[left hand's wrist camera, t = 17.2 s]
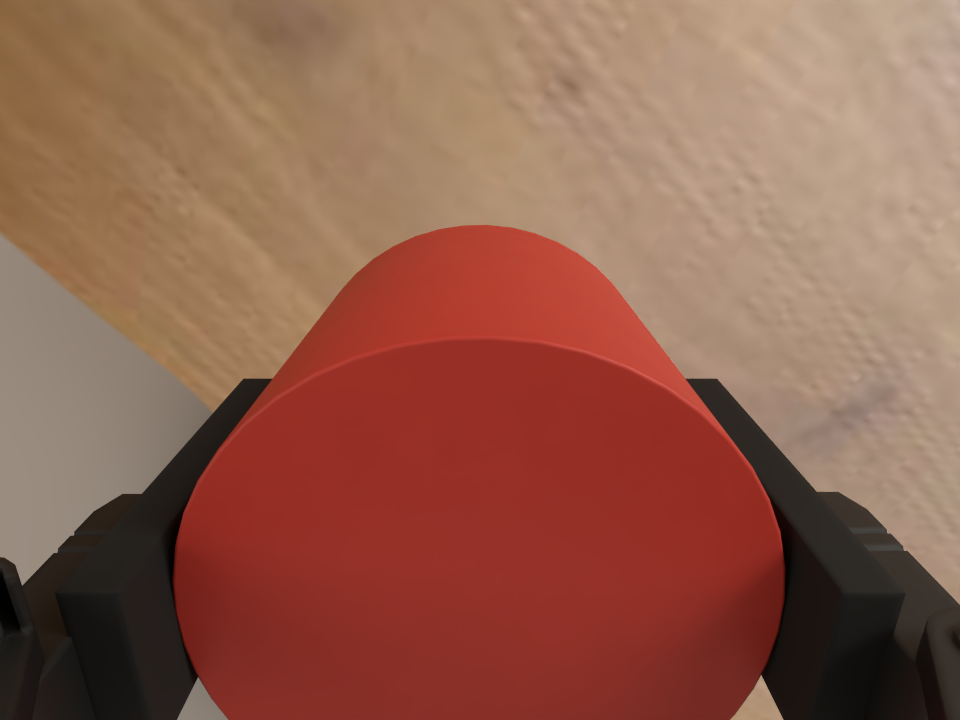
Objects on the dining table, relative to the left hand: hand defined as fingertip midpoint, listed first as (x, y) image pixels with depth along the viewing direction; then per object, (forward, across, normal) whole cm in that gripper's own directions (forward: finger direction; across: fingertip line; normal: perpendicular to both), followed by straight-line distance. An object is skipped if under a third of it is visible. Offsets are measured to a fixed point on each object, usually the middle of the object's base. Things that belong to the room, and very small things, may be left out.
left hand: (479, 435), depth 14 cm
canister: (+2, 0, 0) cm, 2 cm away
